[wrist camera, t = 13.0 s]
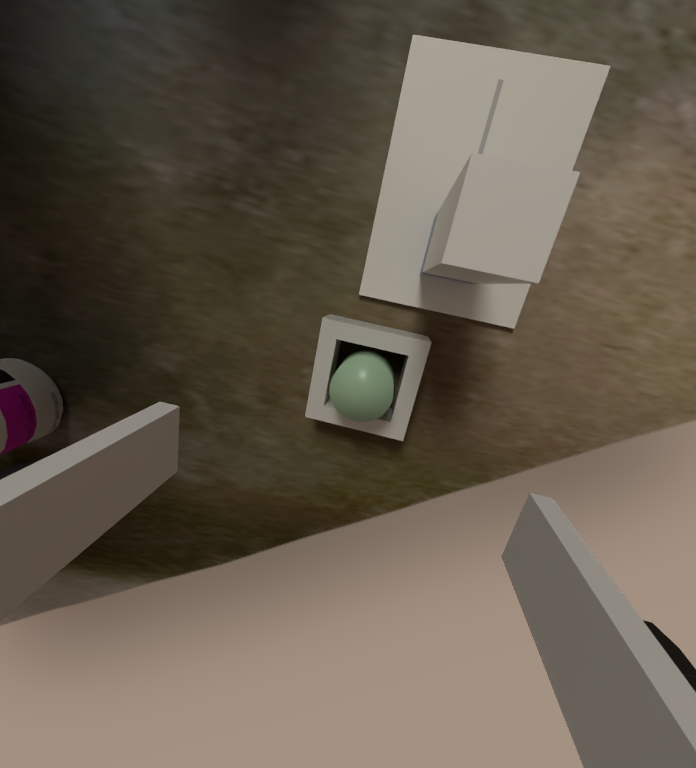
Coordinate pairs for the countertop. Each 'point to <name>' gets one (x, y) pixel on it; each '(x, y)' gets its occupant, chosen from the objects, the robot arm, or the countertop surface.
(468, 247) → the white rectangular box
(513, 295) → the slotted base plate
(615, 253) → the countertop surface
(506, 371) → the countertop surface
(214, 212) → the countertop surface
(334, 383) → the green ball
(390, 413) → the housing
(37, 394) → the supplement can
